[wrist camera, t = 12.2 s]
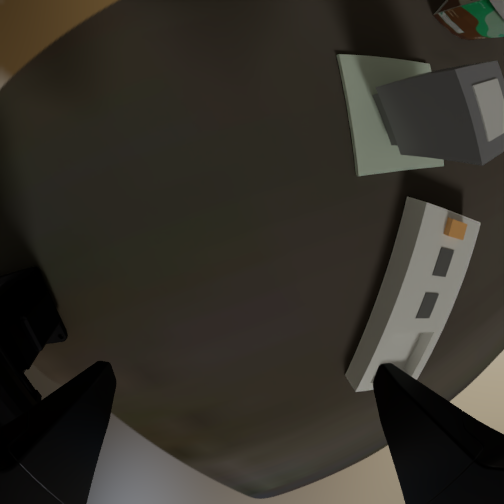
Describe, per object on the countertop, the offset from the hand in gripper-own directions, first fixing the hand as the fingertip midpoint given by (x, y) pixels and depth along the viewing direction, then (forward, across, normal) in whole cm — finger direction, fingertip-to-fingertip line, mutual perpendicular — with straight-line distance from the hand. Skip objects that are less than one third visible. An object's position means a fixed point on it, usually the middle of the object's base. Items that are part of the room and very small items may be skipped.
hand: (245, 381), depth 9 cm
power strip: (+14, -15, +5) cm, 22 cm away
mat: (+14, -11, -10) cm, 21 cm away
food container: (+16, -22, -24) cm, 36 cm away
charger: (+14, -12, -10) cm, 21 cm away
